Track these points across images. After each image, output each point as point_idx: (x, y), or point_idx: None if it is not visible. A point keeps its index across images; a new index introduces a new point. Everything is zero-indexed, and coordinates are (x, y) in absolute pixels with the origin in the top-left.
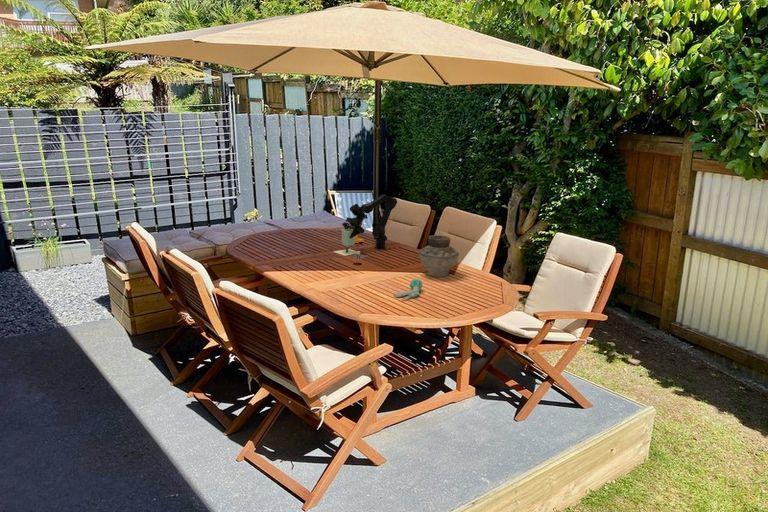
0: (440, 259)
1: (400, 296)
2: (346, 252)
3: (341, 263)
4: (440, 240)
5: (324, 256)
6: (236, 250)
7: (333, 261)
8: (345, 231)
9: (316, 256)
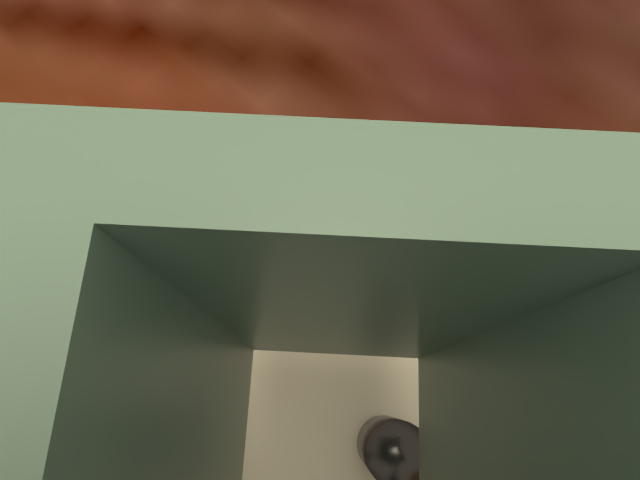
0: None
1: None
2: (369, 417)
3: (59, 38)
4: None
5: (489, 100)
6: None
7: (206, 30)
8: (277, 130)
9: (554, 33)
